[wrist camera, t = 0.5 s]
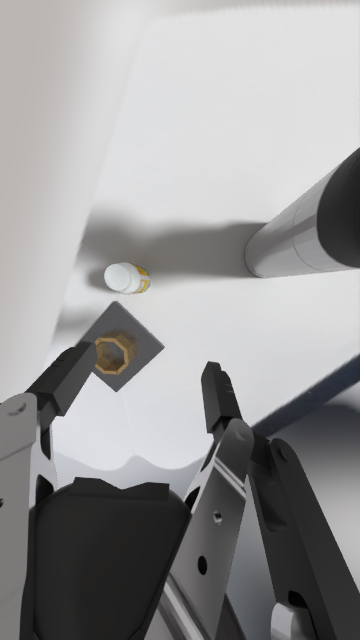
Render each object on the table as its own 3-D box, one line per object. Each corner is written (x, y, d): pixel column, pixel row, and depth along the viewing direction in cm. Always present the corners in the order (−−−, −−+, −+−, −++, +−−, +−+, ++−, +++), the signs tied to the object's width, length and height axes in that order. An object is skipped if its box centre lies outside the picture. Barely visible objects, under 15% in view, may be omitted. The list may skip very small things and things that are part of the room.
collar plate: (117, 301, 33) (107, 303, 29) (164, 346, 35) (161, 354, 31) (73, 351, 37) (59, 358, 33) (118, 389, 39) (109, 401, 35)
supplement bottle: (152, 291, 32) (136, 293, 23) (129, 294, 32) (103, 297, 23) (148, 265, 31) (130, 256, 21) (124, 268, 31) (96, 261, 22)
